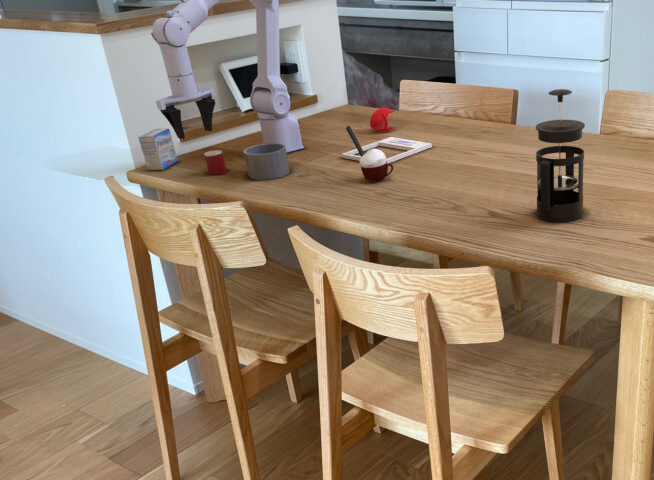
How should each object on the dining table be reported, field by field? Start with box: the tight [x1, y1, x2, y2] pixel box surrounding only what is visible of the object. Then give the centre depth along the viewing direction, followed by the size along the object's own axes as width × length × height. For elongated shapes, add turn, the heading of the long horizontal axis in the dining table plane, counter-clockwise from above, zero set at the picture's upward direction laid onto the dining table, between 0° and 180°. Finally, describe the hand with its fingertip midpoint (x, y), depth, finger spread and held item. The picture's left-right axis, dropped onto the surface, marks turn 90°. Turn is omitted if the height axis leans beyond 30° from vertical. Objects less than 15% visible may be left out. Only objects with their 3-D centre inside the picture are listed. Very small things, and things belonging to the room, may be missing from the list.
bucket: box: [243, 143, 291, 181], centre depth 182 cm, size 10×10×6 cm
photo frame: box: [341, 136, 433, 164], centre depth 193 cm, size 15×1×18 cm
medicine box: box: [137, 127, 179, 171], centre depth 194 cm, size 8×4×9 cm, turn 168°
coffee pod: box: [203, 149, 228, 176], centre depth 187 cm, size 4×4×5 cm
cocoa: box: [345, 125, 394, 182], centre depth 171 cm, size 10×6×12 cm, turn 50°
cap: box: [369, 107, 395, 133], centre depth 212 cm, size 8×6×6 cm
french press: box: [535, 88, 586, 223], centre depth 141 cm, size 12×9×23 cm
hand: (195, 134), depth 182 cm, fingers open, 7 cm apart
